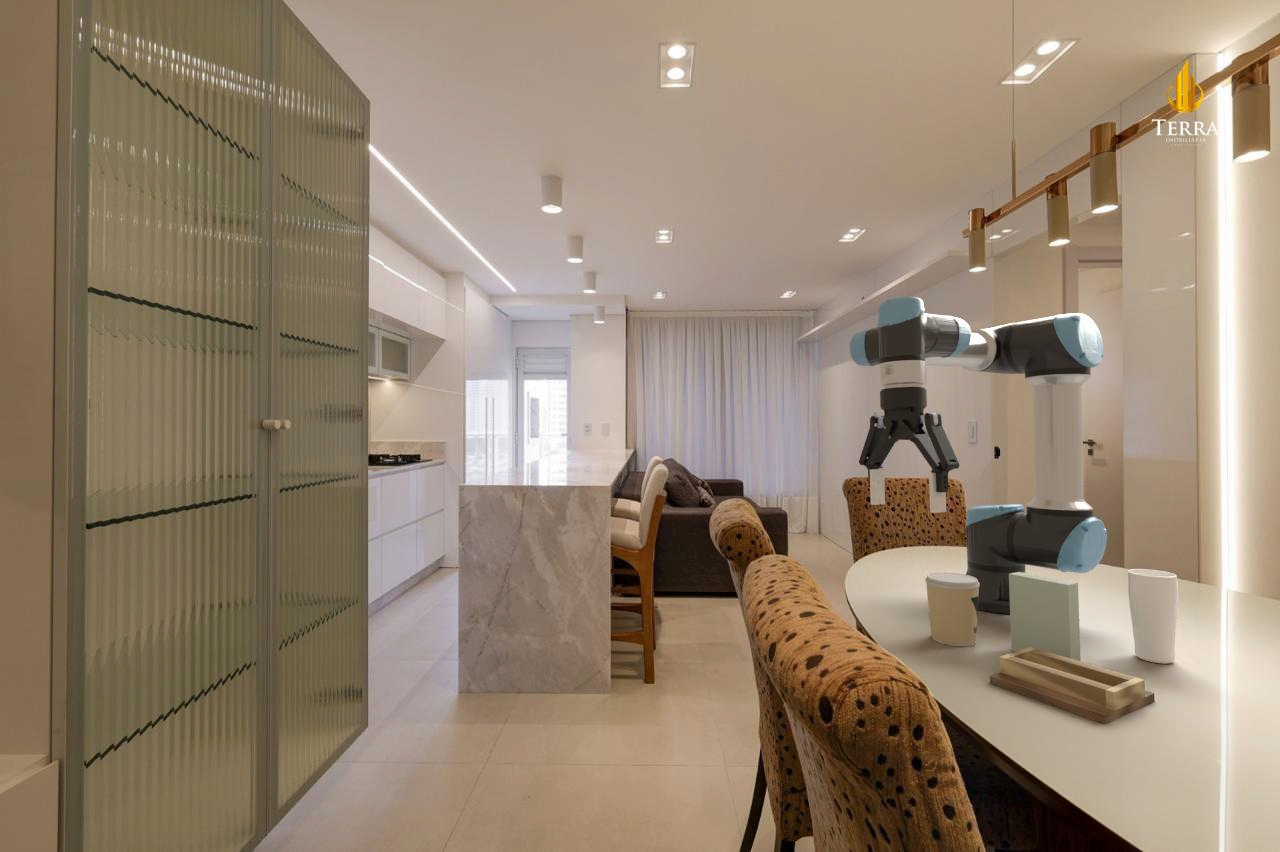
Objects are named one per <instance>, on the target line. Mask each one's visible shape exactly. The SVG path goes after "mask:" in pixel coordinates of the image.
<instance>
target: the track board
mask: <svg viewBox="0 0 1280 852" xmlns="http://www.w3.org/2000/svg"><path fill="white" fill-rule="evenodd" d="M1145 682H1146V681H1145V679H1143V678H1140V677H1136V676H1132V675H1129V674H1126V673H1122V672H1118V671H1114V670H1112V669H1108V668H1104V667H1100V666H1097V665H1094V664H1090V663H1089V662H1088V663H1087V662H1083V661H1077V660H1074V659H1070V658H1067V657H1063V656H1060V655H1056V654H1053V653H1049V652H1046V651H1042V650H1039V649H1035V648H1032V647H1029V648H1026V649H1023V650H1019V651H1016V652H1015V651H1012V652H1010V653H1006V654H1004V655H1000V656H999V672H996V673H993V674H990V675H989V684H992V685H995V686H997V687H1000V688H1003V689H1005V690H1008V691H1012V692H1014V693H1015V694H1019V695H1022V696H1025V697H1028V698H1030V699H1034V700H1037V701H1038V702H1042V703H1045V704H1048V705H1051V706H1053V707H1056V708H1059V709H1061V710H1065V711H1067V712H1070V713H1074V714H1076V715H1078V716H1081V717H1084V718H1087V719H1090V720H1093V721H1095V722H1098V723H1101V724H1104V725H1105V724H1108V723H1110V722H1113V721H1114V720H1116V719H1119V718H1121V717H1123V716H1126V715H1128V714H1130V713H1132V712H1134V711H1136V710H1138V709H1141V708H1144V707H1146V706H1147V705H1149V704H1152V703H1154V702H1155V692H1152V691H1148V690H1146V683H1145Z"/></svg>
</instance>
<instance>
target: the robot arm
mask: <svg viewBox="0 0 1280 852" xmlns="http://www.w3.org/2000/svg"><path fill="white" fill-rule="evenodd" d="M877 309H878V310H877V312H878V313H877V316H878V317H877V324H876V327H872V328H866V329H864V330H860V331H857V332H856V333H854V334H853V335H852V337H851V338H850V341H849V355H850V357H851V359H852V361H853V362H854V363H855V364H856V365H858V366H860V367H875V366H878V365H879V369H878V370H879V386H881V387H883V388H882V389H880V391H879V402H880V404H879V405H880V406H879V407H880V409H881V410H882V411H883V412H884V413H883V415H871V416H870V418H869V429H868V432H867V436H866V438H865V440H864V444H863V448H862V451H861V454H860V457H859V459H858V464H859V465H860V466H864V467H865V468H866V469H867V477H868V478H867V480H868V481H867V482H868V486H869V489H870V490H869V491H870V493H869V494H870V506H871V505H872V506H877V505H878V506H880V505H885V504H886V491H885V488H886V487H885V469H883V468H884V467H883V463H884V462H885V460H886V458H887V457H888V455H889V453H890V452H891V451H892V449H893V447H894V445H895V444H896V443H897V442H899V441H900V440H901V441H910V442H911V443H913V444H914V445H915V447H916V448H917V450H918V451H919V452H920V454H921V455H922V456H923V458H924V460H925V461H926V462H927V464H928V465H929V467H930V468H931V470H930V472H929V473H928V480H929V481H928V483H929V484H928V487H929V488H928V489H929V490H928V491H929V513H932V514H936V513H938V514H939V513H946V512H947V497H946V495H947V494H946V493H949V492H948V491H949V472H950V471H953V470H957V469H960V463H959V460H958V458H957V456H956V454H955V452H954V449H953V447H952V445H951V442H950V440H949V437H948V436H947V433H946V432H945V430H944V427H943V422H942V416H941V413H939V412H926V413H925V409H926V408H927V406H928V403H927V402H928V400H927V399H928V397H927V389H926V387H924V386H923V385H926V384H927V370H926V366H932V367H933V366H937V367H938V366H939V367H942V366H943V367H961V368H962V369H964V370H966V371H968V372H979V373H980V372H981V373H992V374H999V375H1000V374H1001V375H1002V374H1004V375H1019V374H1021V375H1023V374H1024V381H1026V382H1027V383H1028V384H1029V385H1030V386H1031V387H1032V389H1033V390H1032V391H1033V393H1032V394H1033V395H1032V396H1033V397H1032V398H1033V459H1034V461H1033V462H1034V463H1033V464H1034V466H1033V468H1034V473H1033V474H1034V475H1033V476H1034V477H1033V478H1034V497H1033V499H1031V500H1030V501H1029V502H1028V503H1027V504H1026V509H1025V507H1024V505H1023V504H1021V503H1020V504H1018V503H1012V504H1011V503H1010V504H1009V503H1008V504H994V505H993V504H991V505H979V506H972V507H971V508H969V509H968V510H967V511H966V517H965V518H966V519H965V533H966V534H965V535H966V558H967V559H966V563H967V565H966V567H967V570H966V572H965V575H969V576H972V577H975V578H976V579H977V580H978V582H979V584H980V586H979V595H978V611H979V610H980V611H984V612H988V613H996V614H1009V615H1010V594H1009V574H1010V573H1015V572H1022V573H1027V572H1026V566H1030V567H1031V566H1032V567H1039V568H1044V569H1049V570H1056V571H1059V572H1061V573H1076V574H1085V573H1089V572H1092V571H1093V570H1094V569H1095V568H1096V567H1097V566H1098V565H1099V564H1100V562H1101V561H1102V559H1103V556H1104V554H1105V551H1106V547H1107V543H1108V542H1107V540H1108V533H1107V529H1106V526H1105V524H1104V521H1103V520H1101V519H1099V518H1097V517H1095V516H1094V511H1093V510H1094V509H1093V507H1092V506H1091V505H1090V504H1089V503H1088V502H1086V500H1085V499H1084V450H1083V449H1084V443H1083V441H1084V439H1083V438H1084V437H1083V385H1084V384H1085V383H1086V382H1087V381H1088V380H1089V379H1090V378H1091V376H1092V375H1091V373H1092V372H1091V368H1092V369H1093V368H1095V367H1098V365H1100V364H1101V362H1102V361H1103V357H1104V354H1105V351H1104V349H1105V347H1104V340H1103V337H1102V334H1101V332H1100V329H1099V327H1098V326H1097V325H1096V323H1095V321H1094V320H1093V319H1092V318H1091V317H1090V316H1088V315H1087V314H1084V313H1081V312H1080V313H1079V312H1075V313H1065V314H1063V313H1062V314H1061V313H1060V314H1059V313H1058V314H1056V315H1052V316H1051V315H1050V316H1045V317H1041V318H1034V319H1030V320H1029V319H1028V320H1025V321H1017V322H1011V323H1007V324H1002V325H998V326H994V327H990V328H973V329H971V327H970V325H969V324H968V322H966V321H965V320H964V319H962V318H959V317H955V316H953V315H950V314H948V315H947V314H946V315H943V314H935V313H934V314H933V313H926V309H925V305H924V301H923V299H921V298H920V297H917V296H901V297H895V298H890V299H887V300H883V302H881V303H880V304H879V306H878V308H877ZM924 426H925V427H924ZM1025 510H1026V511H1025Z"/></svg>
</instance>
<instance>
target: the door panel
mask: <svg viewBox="0 0 1280 852" xmlns="http://www.w3.org/2000/svg"><path fill="white" fill-rule="evenodd" d="M1009 594H1010V614H1009V616H1010V617H1009V619H1010V620H1009V622H1010V624H1009V625H1010V648H1011V649H1010V650H1011V652H1016V651H1019V650H1023V649H1026V648H1029V647H1032V648H1035V649H1039V650H1042V651H1046V652H1049V653H1053V654H1056V655H1060V656H1063V657H1067V658H1070V659H1074V660H1077V661H1081V635H1080V631H1081V630H1080V609H1079V608H1080V606H1079V605H1080V603H1079V602H1080V601H1079V582H1077V581H1070V580H1066V579H1065V580H1064V579H1061V578H1060V579H1059V578H1054V577H1048V576H1043V575H1038V574H1032V573H1027V572H1026V573H1022V572H1015V573H1010V574H1009ZM1081 662H1082V661H1081Z"/></svg>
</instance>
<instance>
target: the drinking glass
mask: <svg viewBox="0 0 1280 852" xmlns="http://www.w3.org/2000/svg"><path fill="white" fill-rule="evenodd" d="M1126 572H1127V575H1126V580H1127V581H1126V586H1127V598H1128V607H1129V612H1130V620H1131V625H1132V626H1131V627H1132V633H1133V634H1132V636H1133V641H1134V642H1133V643H1134V645H1133V646H1134V654H1135V656H1136V657H1137V658H1139V659H1141V660H1144V661H1146V662H1150V663H1154V664H1166V665H1167V664H1172V663H1173V662H1175V660H1176V636H1177V635H1176V633H1177V622H1178V621H1177V619H1178V606H1179V585H1178V584H1179V583H1178V576H1177V574H1176V573H1173V572H1169V571H1164V570H1159V569H1149V568H1148V569H1147V568H1131V569H1128V570H1127V571H1126Z"/></svg>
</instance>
